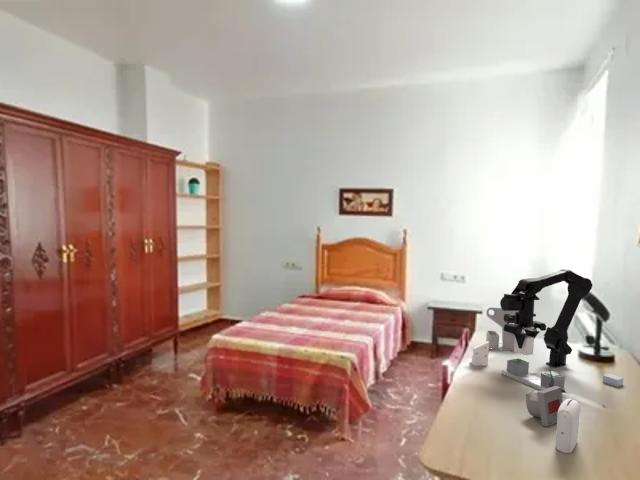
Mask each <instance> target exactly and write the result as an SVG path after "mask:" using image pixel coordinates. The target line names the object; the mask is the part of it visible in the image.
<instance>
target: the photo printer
mask: <svg viewBox="0 0 640 480" xmlns="http://www.w3.org/2000/svg"><path fill="white" fill-rule="evenodd" d="M580 407H581V406H580V404H579V403H578V401H577V400H576V399H571V398H567V399H565V400H563V402H562V404H561V405H560V407H559V409H558V415H557V423H556V431H555V432H556V433H555V449H557V451H559V452H561V453H564V454H570V453H572V452H573V450H574V449H575V447H576V445H577V443H578V437H579V436H578V435H579V424H580Z"/></svg>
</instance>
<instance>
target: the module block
mask: <svg viewBox="0 0 640 480" xmlns="http://www.w3.org/2000/svg"><path fill="white" fill-rule="evenodd" d="M534 343H535V339H534V337H531V336H527V335H526V337H525V340H524V343H523V346H522V348H521V349H520V348H519V347H518V344H517V341H516V338H515V343H514V351H513V352H516V353H518V354H521V355H524V356H531V355H532V356H533V355H534V347H535V344H534Z"/></svg>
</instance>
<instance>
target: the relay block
mask: <svg viewBox="0 0 640 480" xmlns="http://www.w3.org/2000/svg"><path fill="white" fill-rule="evenodd" d="M602 383H604V384H607V385H611V386H612V387H616V388H617V387H621V386H623V385H624V377H621V376H618V375H614V374H611V373H607V374H603V376H602Z"/></svg>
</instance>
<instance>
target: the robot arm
mask: <svg viewBox="0 0 640 480" xmlns="http://www.w3.org/2000/svg"><path fill="white" fill-rule="evenodd" d="M562 282H564V283H565V284H568V285H567V293H568V294H567V297H566V299H565V301H564V304H563V306H562V308H561V311H560V312H559V315H558V317H557V319H556V321H555V324H554V325H553V326H552V327H549V326H548V327H547V325H546V323H545V322H541V321H537V320H534V318H535V317H536V316H537V313H535V312H534V311H535V301H540V297H538V296H537V294H539V293H540V292H541V291H542V290H543V289H545V288H547V287H550V286H553V285H555V284H558V283H559V284H560V283H562ZM592 288H593V282H592V280H591V279H590V278H587V277H583V276H581V275H579V274H577V273H575V272H574V271H572V270H571V269H566V268H561V269H559V270H557V271H555V272H552V273H548V274H546V275H542V276H540V277H536V278H535V277H534V278H533V277H532V278H531V277H530V278H521V279H519V281H518V283H517V285H515V288H514V289H513V290H512V292H511V293H504V294H503V296H502V298H501V299H500V301H499V302H500V303H499V306H500V308H502V310H504V311H518V312H516V313H515V315H513V316H511V315H510V314H504V321H505V322H507V324H505V325H504V331H506V332H509V333H512V334H514V335H515V338H516V341H517V344H518V347H519V348H520V349H521V348H522V346H523V343H524V340H525V337H526V335H527V336H531V337H534V340H535V339H536V337H537V336H538V335H539V334H540V332H541V331H542V332H543V331H545V333H544V334H543V342H544V344H545V347H546V349H548V350H550V351H549V357H548V362H545V364H546V365H548V366H551V367H554V368H560V367H561V368H562V367H564V366H567V356H568V355H571V354H572V351H573V348H572V347H571V346H570V345H569V344H568V340H569V335H568V330H569V328H570V325H571V323H572V321H573V319H574V316H575V314H576V312H577V309H578V307H579V304H580V302H581V301H582V300H583V299H584V298H585V297H587V296H588V295H589V293H590V292H591V291H592ZM515 324H517V325H515ZM538 329H539V330H540V331H538Z"/></svg>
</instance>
